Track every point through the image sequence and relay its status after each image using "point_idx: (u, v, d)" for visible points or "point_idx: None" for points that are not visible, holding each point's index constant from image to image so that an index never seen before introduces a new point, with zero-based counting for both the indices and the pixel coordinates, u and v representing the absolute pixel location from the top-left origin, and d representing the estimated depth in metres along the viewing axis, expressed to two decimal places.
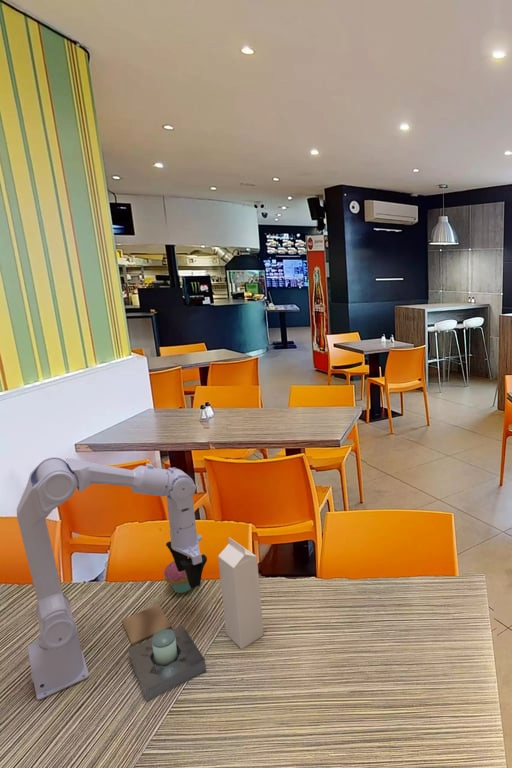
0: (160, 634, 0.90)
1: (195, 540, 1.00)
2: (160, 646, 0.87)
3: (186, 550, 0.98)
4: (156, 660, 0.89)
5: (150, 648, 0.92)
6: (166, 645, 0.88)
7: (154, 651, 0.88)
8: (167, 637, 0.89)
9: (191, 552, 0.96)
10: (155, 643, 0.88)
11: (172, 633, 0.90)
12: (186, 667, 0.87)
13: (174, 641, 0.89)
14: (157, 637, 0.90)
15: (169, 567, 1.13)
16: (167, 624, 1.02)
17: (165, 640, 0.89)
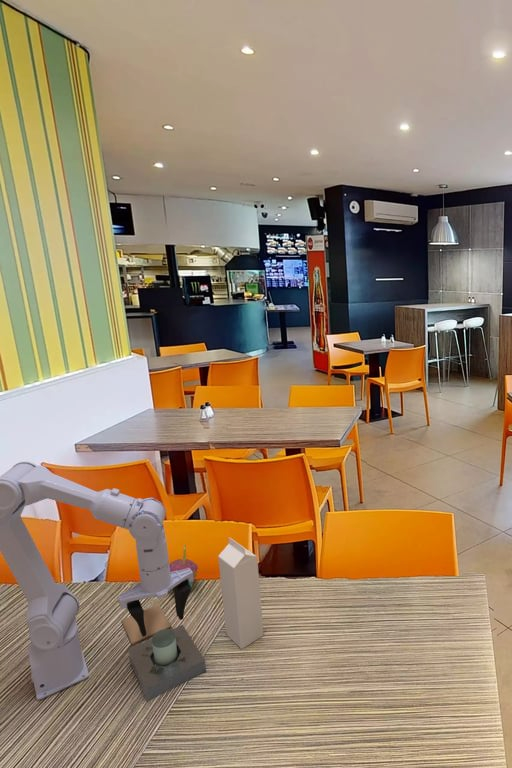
0: (160, 634, 0.90)
1: (147, 589, 0.85)
2: (160, 646, 0.87)
3: (139, 589, 0.87)
4: (156, 660, 0.89)
5: (150, 648, 0.92)
6: (166, 645, 0.88)
7: (154, 651, 0.88)
8: (167, 637, 0.89)
9: (131, 593, 0.85)
10: (155, 643, 0.88)
11: (172, 633, 0.90)
12: (186, 667, 0.87)
13: (174, 641, 0.89)
14: (157, 637, 0.90)
15: None
16: (167, 624, 1.02)
17: (165, 640, 0.89)
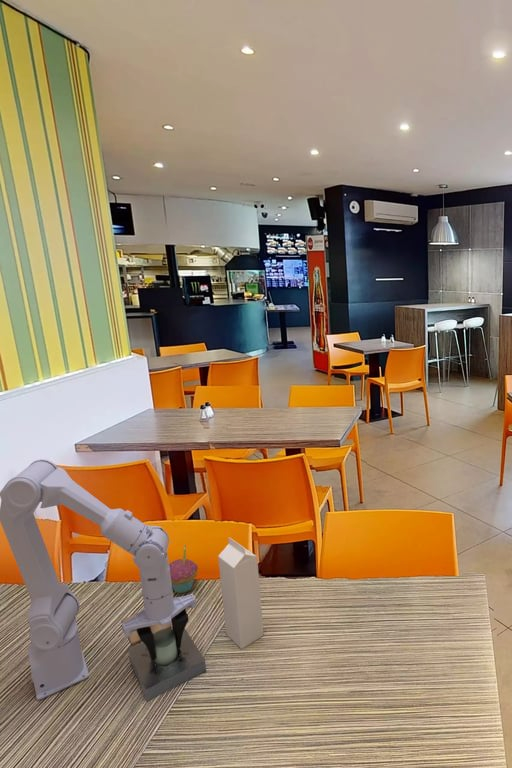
0: (160, 634, 0.90)
1: (151, 617, 0.86)
2: (160, 646, 0.87)
3: (142, 616, 0.88)
4: (156, 660, 0.89)
5: None
6: (166, 645, 0.88)
7: None
8: (167, 637, 0.89)
9: (135, 620, 0.86)
10: (155, 643, 0.88)
11: (172, 633, 0.90)
12: (186, 667, 0.87)
13: (174, 641, 0.89)
14: (157, 637, 0.90)
15: None
16: None
17: (165, 640, 0.89)
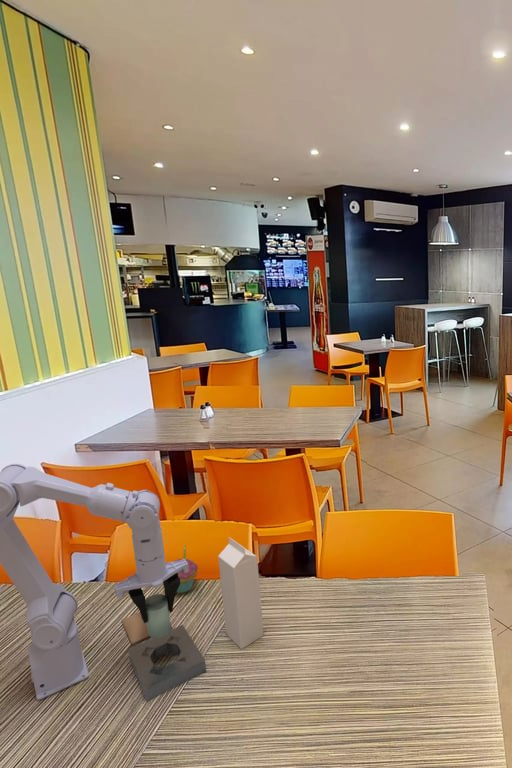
0: (152, 598, 0.91)
1: (143, 579, 0.86)
2: (152, 609, 0.88)
3: (135, 579, 0.88)
4: (148, 623, 0.89)
5: (150, 648, 0.92)
6: (158, 608, 0.88)
7: None
8: (159, 601, 0.90)
9: (127, 583, 0.87)
10: (147, 606, 0.89)
11: (164, 598, 0.91)
12: (186, 667, 0.87)
13: (166, 605, 0.90)
14: (149, 601, 0.90)
15: None
16: None
17: (157, 604, 0.89)
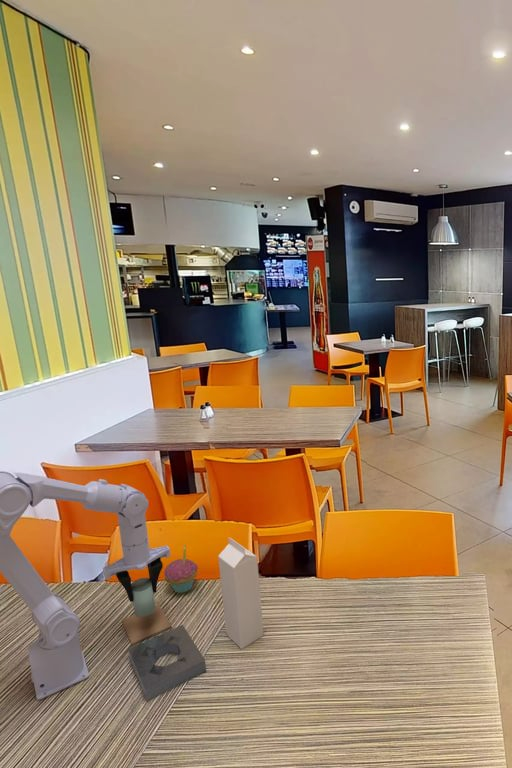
0: (138, 581, 1.01)
1: (129, 563, 0.97)
2: (137, 590, 0.98)
3: (121, 563, 0.99)
4: (134, 604, 0.99)
5: (150, 648, 0.92)
6: (143, 589, 0.98)
7: None
8: (144, 583, 1.00)
9: (114, 566, 0.98)
10: (133, 588, 0.99)
11: (148, 581, 1.01)
12: (186, 667, 0.87)
13: (150, 587, 1.00)
14: (135, 584, 1.01)
15: (169, 567, 1.13)
16: (167, 624, 1.02)
17: (142, 585, 1.00)
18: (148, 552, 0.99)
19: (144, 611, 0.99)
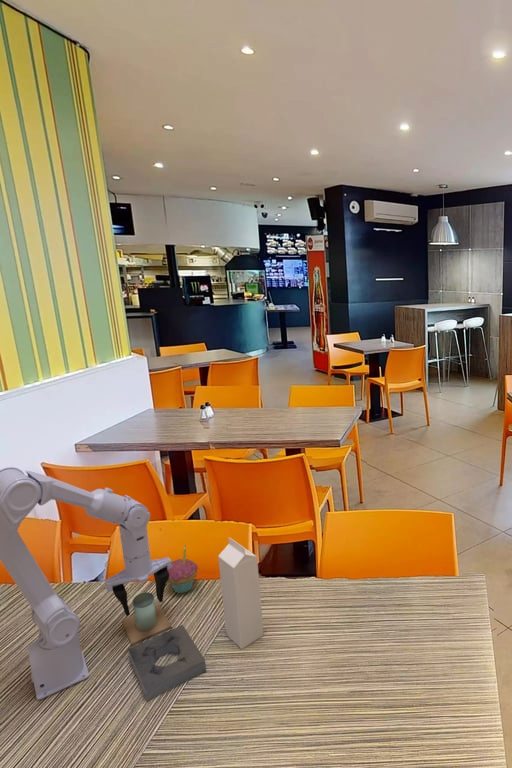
0: (140, 596, 1.01)
1: (130, 575, 0.97)
2: (140, 606, 0.99)
3: (123, 575, 0.99)
4: (136, 619, 1.00)
5: (150, 648, 0.92)
6: (145, 606, 0.99)
7: (135, 611, 1.00)
8: (146, 599, 1.01)
9: (116, 578, 0.98)
10: (135, 604, 0.99)
11: (151, 596, 1.01)
12: (186, 667, 0.87)
13: (153, 603, 1.00)
14: (138, 599, 1.01)
15: None
16: (167, 624, 1.02)
17: (144, 601, 1.00)
18: (150, 564, 0.99)
19: (146, 626, 1.00)
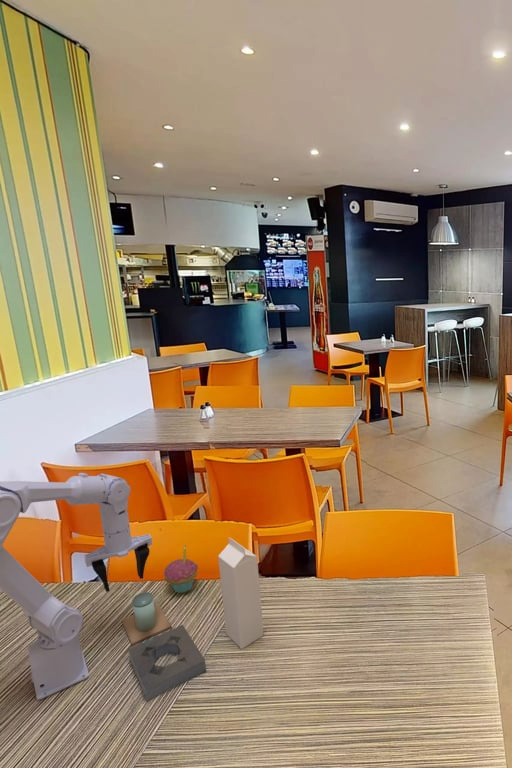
0: (139, 596, 1.02)
1: (110, 550, 0.98)
2: (139, 606, 0.99)
3: (103, 550, 0.99)
4: (136, 619, 1.00)
5: (150, 648, 0.92)
6: (144, 605, 0.99)
7: (134, 611, 1.00)
8: (146, 598, 1.01)
9: None
10: (135, 604, 0.99)
11: (150, 595, 1.02)
12: (186, 667, 0.87)
13: (152, 602, 1.01)
14: (137, 599, 1.01)
15: (169, 567, 1.13)
16: (167, 624, 1.02)
17: (144, 601, 1.00)
18: (129, 540, 1.00)
19: (146, 626, 1.00)
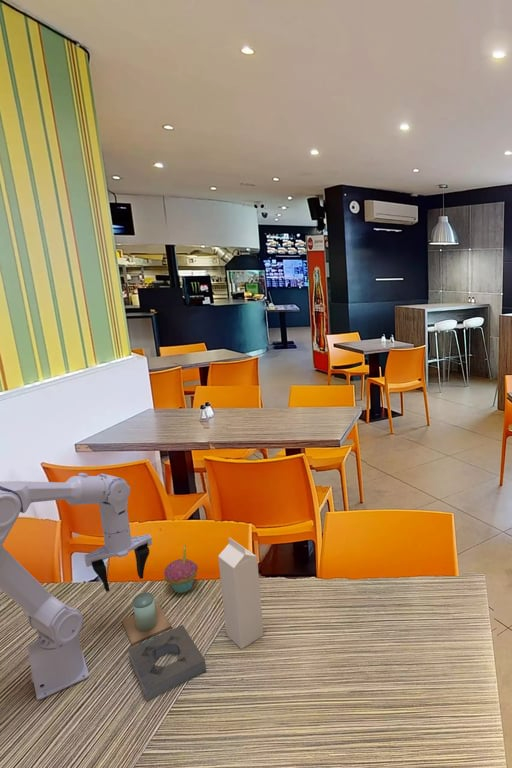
0: (140, 597, 1.01)
1: (110, 550, 0.98)
2: (140, 606, 0.99)
3: (103, 550, 0.99)
4: (137, 619, 1.00)
5: (150, 648, 0.92)
6: (146, 605, 0.99)
7: (135, 611, 1.00)
8: (146, 599, 1.01)
9: None
10: (136, 604, 0.99)
11: (150, 596, 1.02)
12: (186, 667, 0.87)
13: (153, 602, 1.00)
14: (137, 599, 1.01)
15: (169, 567, 1.13)
16: (167, 624, 1.02)
17: (145, 601, 1.00)
18: (129, 540, 1.00)
19: (146, 626, 1.00)
